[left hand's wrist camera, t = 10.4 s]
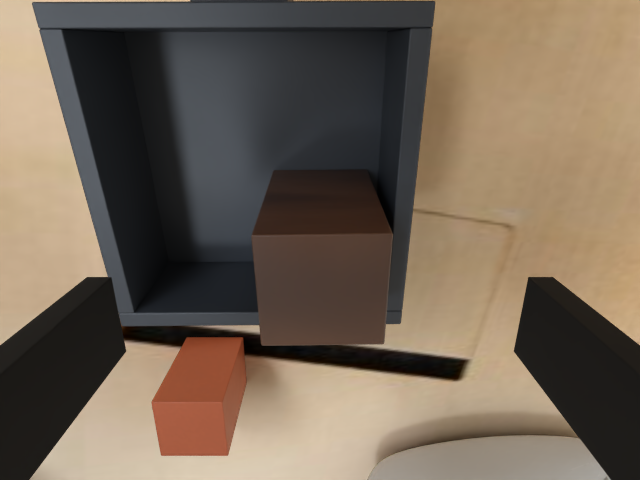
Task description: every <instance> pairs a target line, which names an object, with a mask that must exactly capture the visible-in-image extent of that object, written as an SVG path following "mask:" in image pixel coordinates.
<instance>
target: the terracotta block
mask: <svg viewBox="0 0 640 480" xmlns="http://www.w3.org/2000/svg"><path fill="white" fill-rule="evenodd" d="M245 387H246V370H245V357H244V344H243V337H187V338H186V340H185V342H184V344H183V346H182V347H181V349H180V351H179V353H178V355H177V357H176V358H175V360H174V362H173V364H172V366H171V368H170V369H169V371H168V373H167V375H166V377H165V379H164V380H163V382H162V384H161V386H160V388H159V389H158V391H157V393H156V395H155V397H154V399H153V400H152V407H153V413H154V419H155V424H156V430H157V435H158V441H159V446H160V452H161V455H162V456H228V454H229V450H230V446H231V442H232V438H233V434H234V430H235V426H236V422H237V418H238V414H239V410H240V406H241V402H242V399H243V395H244V391H245Z"/></svg>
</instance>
